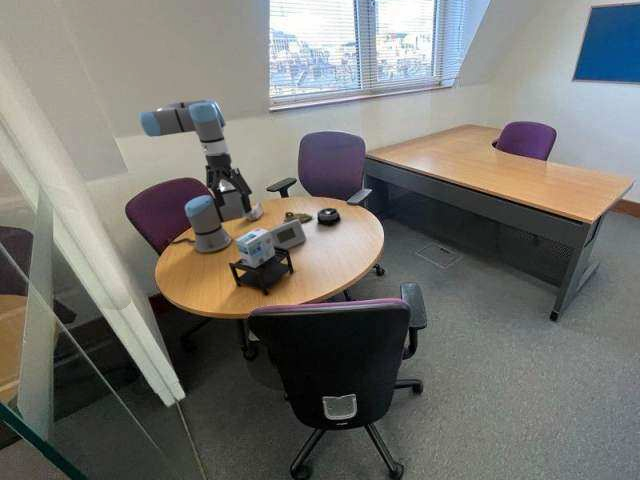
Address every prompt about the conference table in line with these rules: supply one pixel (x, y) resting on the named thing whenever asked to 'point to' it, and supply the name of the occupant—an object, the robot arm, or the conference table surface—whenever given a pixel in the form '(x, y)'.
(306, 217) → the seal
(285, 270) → the rack
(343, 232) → the conference table surface
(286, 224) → the digital clock
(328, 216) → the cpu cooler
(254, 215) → the mineral specimen
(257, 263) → the light bulb box
